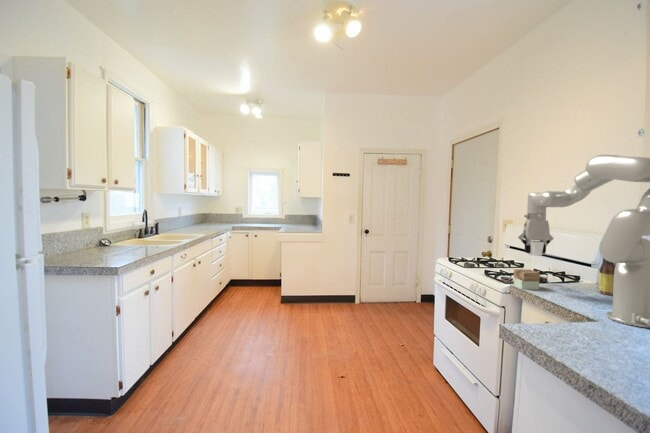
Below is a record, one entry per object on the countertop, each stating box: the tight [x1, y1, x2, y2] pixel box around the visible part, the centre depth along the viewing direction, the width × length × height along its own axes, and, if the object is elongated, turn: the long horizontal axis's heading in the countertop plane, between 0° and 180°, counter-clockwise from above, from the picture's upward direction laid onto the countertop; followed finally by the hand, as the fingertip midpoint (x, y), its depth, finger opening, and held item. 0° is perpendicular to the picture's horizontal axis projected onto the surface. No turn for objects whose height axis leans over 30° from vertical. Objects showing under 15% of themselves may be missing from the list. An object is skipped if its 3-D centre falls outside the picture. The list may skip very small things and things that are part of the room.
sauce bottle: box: [598, 257, 616, 297], centre depth 136 cm, size 7×6×20 cm
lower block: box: [513, 277, 540, 291], centre depth 147 cm, size 8×8×4 cm
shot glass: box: [527, 240, 544, 257], centre depth 139 cm, size 7×7×7 cm
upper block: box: [513, 268, 541, 282], centre depth 147 cm, size 8×8×4 cm
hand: (535, 252), depth 139 cm, fingers closed on shot glass, 6 cm apart
